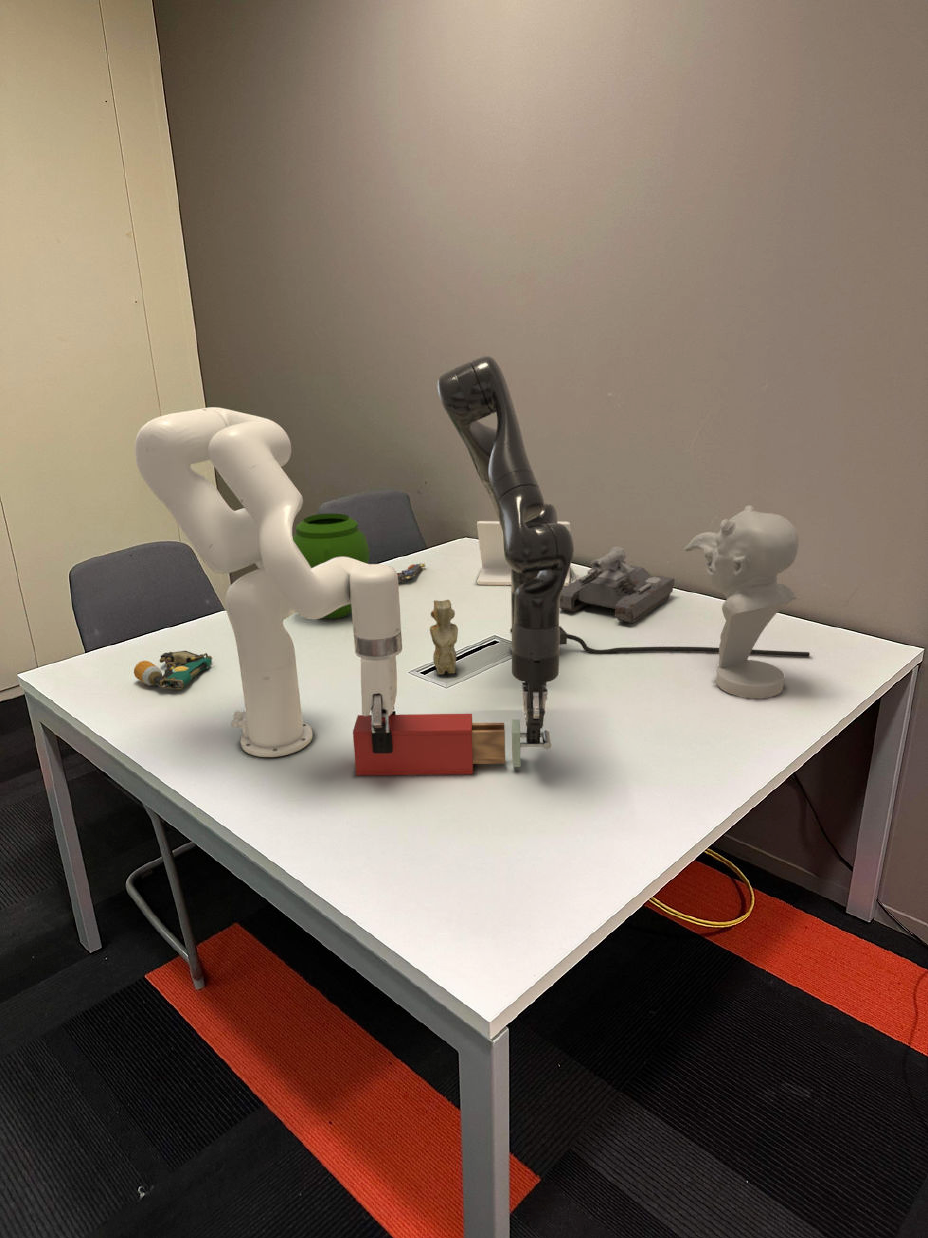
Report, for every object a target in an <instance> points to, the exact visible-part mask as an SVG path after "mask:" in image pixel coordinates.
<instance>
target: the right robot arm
mask: <svg viewBox="0 0 928 1238" xmlns="http://www.w3.org/2000/svg"><path fill="white" fill-rule="evenodd" d="M436 387H437V393H438V397H439V400H440V403H441V404H442V407H443V409H444V410H445V412H446V414H447V415H448V417H449V419H450V421H451V423H452V424H453V425H454V428H455V429H456V431H457V433H458V435H459V436H460V438H461V440H462V441H463V443H464V445H465V447H466V449H467V451H468V453H469V456H470V459H471V461H472V463H473V466H474V468H475V470H476V473H477V474H478V476H479V479H480V481H481V482H482V484H483V486H484V488H485V490H486V491H487V492H486V493H487V494H488V495H489V498H490V500H491V503H492V505H493V507H494V510H495V513H496V516H497V519H498V521H499V522H500V525H501V529H502V531H503V545H504V556H505V559H506V561H507V563H508V565H509V566H510V567H511V585H510V588H511V589H510V597H511V599H510V603H511V604H510V606H511V607H510V609H511V610H510V615H511V617H510V618H511V621H510V622H511V628H510V630H509V633H510V634H509V635H511V643H510V644H511V647H510V651H511V674H512V677H514V678H515V679H516V680H518V681H519V682H521V691H522V701H523V702H522V703H523V704H522V706H523V714H524V716H525V717H524V720H525V727H526V733H527V735H526V737H525V738H526V739H525V740H526V742H541V737H540V733H541V729H543V727H544V721H545V720H544V718H545V715H546V702H547V700H548V688H547V683H549V682H552V681H555V680H556V679H557V678H558V677H559V674H560V673H559V672H560V651H561V650H560V649H561V648H560V647H561V645H562V646H563V645H567V644H568V640H572V641H575V642H577V643H579V644H580V646H581V647H582V649H583V650H584V651H585V652H587V653H589V654H593V655H594V654H595V655H607V654H616V653H639V652H641V653H643V652H698V653H699V652H702V653H703V652H704V653H719V647H712V646H711V647H710V646H707V647H706V646H632V647H631V646H629V647H626V646H624V647H614V648H606V649H596V648H595V649H594V648H591V647H589V646H588V645H587V642H585V640H584V639H582V638H581V637H579V636H576V635H573V634H569V633H567V632H566V631H565V629H564V628H563V627H562V626H561V625H560V596H561V593H562V590H563V588H564V587H565V586H564V583H565V580H566V577H567V574H568V571H569V568H570V569H571V565H572V561H573V557H574V552H575V551H574V549H575V548H574V540H573V535H572V534H571V531H570V532H569V530H568V529H567V528H566V527H565V526H564V525H562V524H560V523H557V522H558V513H557V509H556V507H555V506H554V504H551V503H546V502H545V500H544V496H543V494H542V491H541V489H540V486H539V484H538V481H537V479H536V476H535V474H534V471H533V469H532V466H531V464H530V460H529V458H528V455H527V452H526V451H527V450H526V448H525V444H524V440H523V436H522V432H521V431H522V430H521V427H520V423H519V420H518V417H517V413H516V409H515V406H514V402H513V399H512V396H511V392H510V389H509V387H508V384H507V380H506V378H505V376H504V374H503V372H502V368H501V367H500V366H499V364H498V362H497V361H496V360H495V359H494V358H493V357H492V356H490V355H484V356H481V357H478V358H476V359H473V360H472V361H469V362H466V363H464V364H462V365H460V366H457V367H455V368H453V369H450V370H449V371H447V372H445V373H444V374H442V375H441V376H440V377H439V378H438V380H437V386H436ZM492 414H496V421H497V422H496V429H495V428H493V427H490V426H487V425H485V424H483V423H481V422H480V420H482V419H484V418H486V417H489V416H491V415H492ZM750 655H761V656H779V657H783V656H784V657H806V658H810V655H811V654H810V651H793V650H791V651H789V650H768V649H754V648H753V649H752V651H751V653H750Z"/></svg>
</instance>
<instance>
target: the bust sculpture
mask: <svg viewBox="0 0 928 1238" xmlns="http://www.w3.org/2000/svg"><path fill="white" fill-rule="evenodd" d="M719 528H720V529H719V531H718V532H713V531H705V532H701V533H699V534H697V535H695V536H694V537H693V538H692V539H691V541H690V542H689V543H688V544H687V545H686V546H685V547H684V551H685V552H692V551H696V550H702V551H703V553H704V557H705V559H706V560H707V561H708V562H707V563H706V564H705V570H706V573H707V576H708V577H709V580H710V581H711V583H712V586H714V588H715V589H717V591H719V592H720V593H721V594H722V595H723V596H724V597H726V600H725V601H724V602H723V604H722V606H721V611H722V615H723V617H724V619H725V622H724V625H723V627H722V631H721V633H720V642H719V645H718V646H719V647H718V648H719V652H718V666H717V668H716V675H715V684H716V685H717V687H718V688H720V690H722V691H723V692H726V693H728V694H731V695H733V696H737V697H740V698H741V697H742V698H748V699H766V698H771V697H775V696H778V695H779V694H781V693H782V692H783V690H784V686H785V685H784V684H785V673H784V672H783V670H782V669H780V668H779V667H777V666H775V665H773V664H771V663H768V662H765V661H760V660H754V659H749V657H750V655H751V654H750V653H751V651H752V649H753V650H754V647H755V645H756V643H757V642H758V640H759V638H760V637H761V634H762V633H763V632H764V631H765V628H766V627H768V624H769V623H770V622H771V620H772V619H773V618H774V617H775V616H776V615H777V614H778V613H779V612H780V611H781V610H782V609H783V608H784V607H786V606H787V605H788V604H790V603H791V602H792V601H795V600H797V599H798V597H797V595H796V594H795V592H794V591H793V590H792V588H791V587H789V586H788V585H786V584H782V583H779V582H778V581H777V580H778V576H777V575H779V574H781V573H783V572H785V571H786V570H788V569H789V568H790V567H791V566H792V565H793V563H794V562H795V560H796V558H797V556H798V551H799V535H798V532H797V530H796V527H795V525H793V524H792V522H791V521H790V520H789V519H787V518H786V517H784V516H783V515H781V514H777V513H770V512H760V511H756V510H755V508H754V506H753V505H746V506H745V507H744V509H743V510H742V511H740V512H739V513H737V514H735V515H733V516H732V517H731V518H730V519H728V518H725V519H723V520H721V521H720V525H719Z"/></svg>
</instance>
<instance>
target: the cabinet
mask: <svg viewBox="0 0 928 1238" xmlns="http://www.w3.org/2000/svg"><path fill="white" fill-rule="evenodd" d="M382 722H384V723H385V717H382ZM472 723H473V713H417V714H413V713H412V714H396V715H390V716H389V730H391V732H392V747H393V751H392V753H377V754H375V753H373V748H372V735H371V731H372V716H371V714H369V716H366V717H365V716H363V714H357V717H356V720H355V722H354V727H353V729H352V738H353V739H352V741H353V750H354V751H353V752H354V763H355V765H354V766H355V776H431V775H432V776H433V775H474V764H473V757H472Z"/></svg>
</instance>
